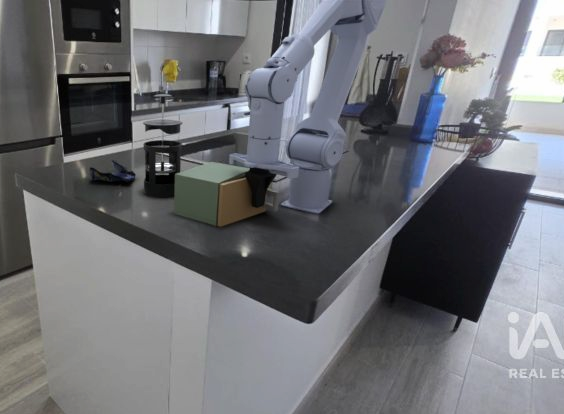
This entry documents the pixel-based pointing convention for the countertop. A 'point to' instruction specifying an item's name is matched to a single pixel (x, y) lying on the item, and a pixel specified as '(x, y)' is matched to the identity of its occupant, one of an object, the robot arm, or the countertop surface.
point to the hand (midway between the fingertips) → (257, 206)
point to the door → (241, 202)
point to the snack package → (117, 176)
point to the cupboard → (203, 190)
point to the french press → (162, 183)
